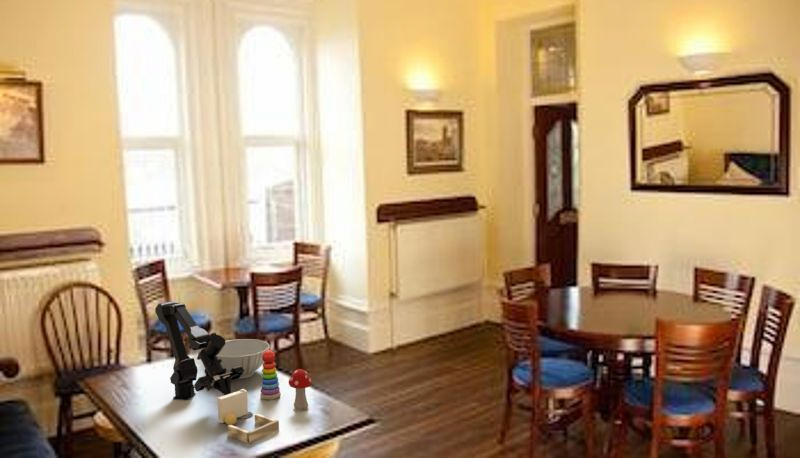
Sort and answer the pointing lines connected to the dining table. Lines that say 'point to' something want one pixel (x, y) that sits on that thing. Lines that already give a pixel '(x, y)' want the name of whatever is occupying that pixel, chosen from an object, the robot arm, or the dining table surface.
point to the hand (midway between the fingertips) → (229, 397)
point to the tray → (266, 429)
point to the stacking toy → (269, 377)
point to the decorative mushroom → (300, 388)
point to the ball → (230, 419)
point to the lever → (232, 405)
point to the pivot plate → (246, 415)
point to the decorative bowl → (243, 355)
